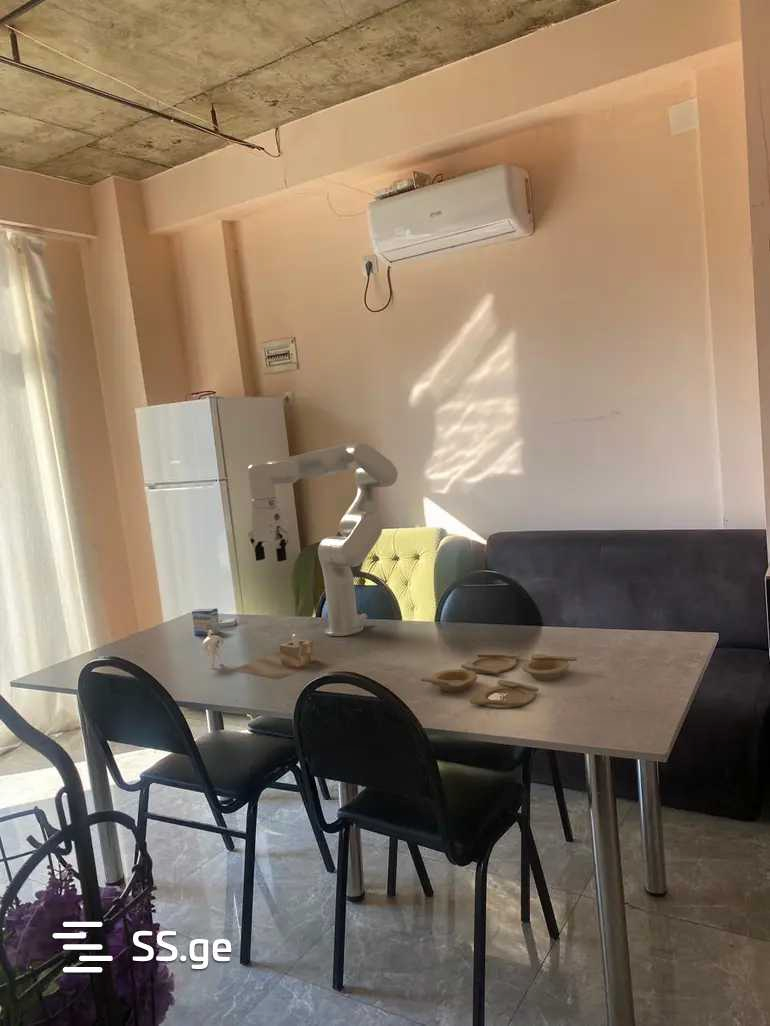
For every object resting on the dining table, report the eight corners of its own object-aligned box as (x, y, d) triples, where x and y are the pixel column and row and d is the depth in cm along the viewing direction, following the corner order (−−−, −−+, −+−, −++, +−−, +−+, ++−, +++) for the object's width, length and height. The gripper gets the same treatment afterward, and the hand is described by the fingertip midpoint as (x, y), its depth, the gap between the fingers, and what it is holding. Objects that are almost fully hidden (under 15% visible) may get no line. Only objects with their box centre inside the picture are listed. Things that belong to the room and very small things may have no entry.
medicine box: (194, 635, 263) (191, 611, 262) (200, 632, 267) (197, 608, 266) (214, 635, 261) (211, 610, 260) (220, 631, 265) (217, 607, 264)
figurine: (210, 675, 214) (204, 634, 212) (201, 673, 217) (196, 632, 215) (230, 668, 219) (225, 627, 218) (222, 666, 222) (217, 626, 220)
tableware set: (486, 655, 207) (484, 641, 207) (586, 668, 188) (584, 652, 188) (407, 697, 180) (406, 681, 180) (515, 717, 162) (513, 699, 161)
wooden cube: (298, 657, 217) (296, 639, 217) (314, 660, 213) (312, 641, 212) (281, 664, 212) (279, 645, 212) (298, 667, 208) (295, 647, 207)
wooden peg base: (278, 656, 225) (275, 625, 224) (326, 664, 213) (322, 631, 212) (231, 675, 212) (226, 642, 211) (279, 684, 199) (274, 649, 198)
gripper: (293, 502, 224) (299, 558, 226) (255, 503, 236) (261, 557, 237) (274, 505, 219) (281, 563, 220) (236, 506, 230) (243, 561, 232)
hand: (271, 560), depth 229 cm, fingers open, 9 cm apart
